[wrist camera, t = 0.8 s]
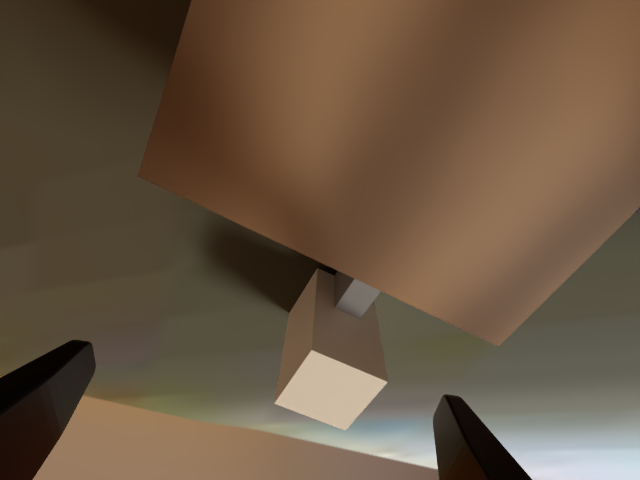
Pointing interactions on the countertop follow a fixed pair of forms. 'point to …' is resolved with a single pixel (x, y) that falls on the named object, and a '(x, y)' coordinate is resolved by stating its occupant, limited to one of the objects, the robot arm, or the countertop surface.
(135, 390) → the countertop surface
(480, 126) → the brown wooden slab
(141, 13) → the countertop surface
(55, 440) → the robot arm
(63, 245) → the countertop surface
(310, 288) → the cube on a stick
